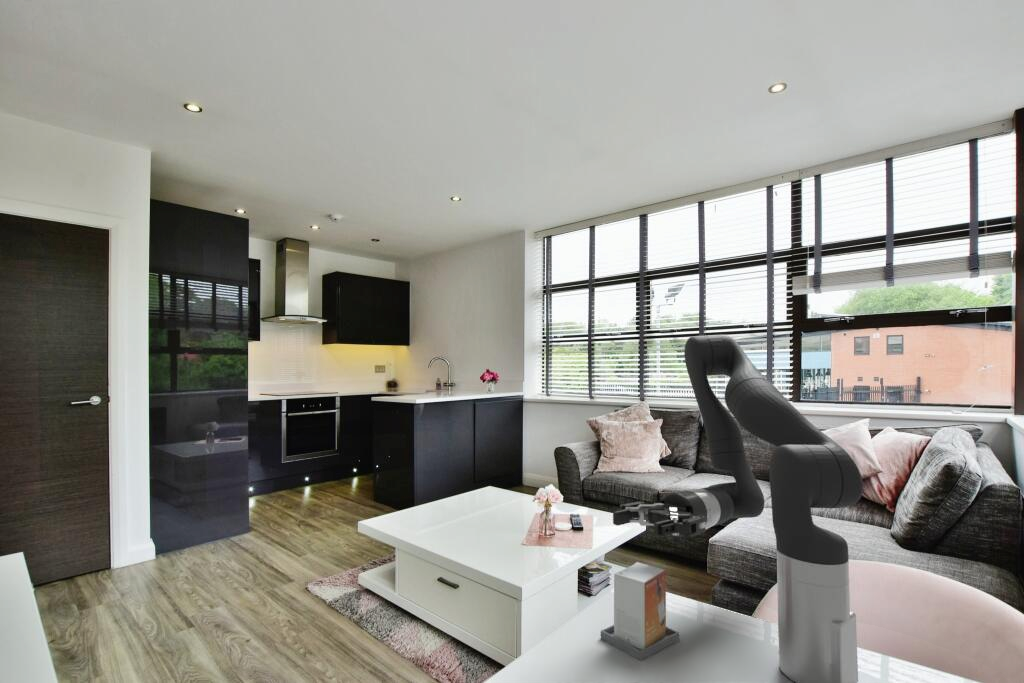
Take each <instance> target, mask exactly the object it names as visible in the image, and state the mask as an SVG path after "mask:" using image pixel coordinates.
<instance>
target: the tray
mask: <svg viewBox="0 0 1024 683" xmlns="http://www.w3.org/2000/svg"><path fill="white" fill-rule="evenodd" d="M600 639H601V640H604V641H605V642H607V643H609V644H610V645H613V646H614V647H615V648H617V649H620V650H621V651H623V652H625V653H627V654H628V655H629V656H632V657H634V658H635V659H638V660H639V661H642V660H644V659H646V658H648V657H650V656H652V655H654V654H656V653H657V652H659V651H662V650H663V649H665V648H668V647H669V646H670V645H673V644H675V643H676V642H678V641H680V632H679V631H676V630H674V629H672V628H670V627H669V626H666V634H665V635H664V636H662V637H661V638H660V639H658V640H657V641H656V642H655V643H653V644H652V645H650V646H648V647H646V648H645V649H643V650H640V649H638V648H635V647H633V646H631V645H629V644H627V643H625V642H623V641H621V640H620V639H618V638H616V637H614V624H612V625H611V626H608V627H606V628H603V629H602V630H601V629H600Z"/></svg>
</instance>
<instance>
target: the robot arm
mask: <svg viewBox="0 0 1024 683" xmlns="http://www.w3.org/2000/svg"><path fill="white" fill-rule="evenodd" d="M684 363H685V367H686V371H687V374H688V379H689V381H690V384H691V387H692V390H693V393H694V398H695V400H696V403H697V406H698V408H699V412H700V414H701V418H702V422H703V426H704V431H705V434H706V435H705V436H706V439H707V447H708V451H709V453H708V454H709V458H710V464H711V466H712V468H713V469H714V470H716V471H719V472H726V473H727V472H728V473H730V474H731V475H732V477H733V479H734V481H733V482H724V483H723V482H722V483H716V484H712V485H709V486H707V487H702V488H690V489H684V490H680V491H674V492H670V493H667V494H665V495H664V496H663V497H662V498H661V500H660V501H659V502H657V503H656V502H655V503H653V504H647V503H646V504H645V502H644V501H641V500H640V501H636V502H629V503H623V504H619V510H616V511H614V512H612V523H613V525H614V526H621V525H625V524H630V523H631V524H632V523H636V524H637V523H638V524H639V525H640V526H641V527H642V526H645V527H646V526H648V527H649V526H650V527H652V526H653V535H654V537H655V538H656V537H657V538H659V539H660V538H664V537H666V536H670V535H672V536H674V537H683V538H686V539H687V538H688V539H689V538H693V537H695V536H698V535H701V534H703V533H706V532H707V531H706V530H708V529H710V528H711V527H715V526H719V525H721V524H724V523H726V522H727V521H729V520H730V519H746V518H747V519H749V518H757V517H759V516H761V515H762V513H763V512H764V509H765V503H766V502H765V497H764V493H763V491H762V488H761V487H760V485H759V483H758V481H757V479H756V477H755V475H754V473H753V470H752V469H751V466H750V464H749V462H748V459H747V456H746V450H745V444H744V440H743V439H744V438H743V435H742V432H741V428H740V426H741V427H742V428H744V430H745V431H747V432H748V433H750V434H751V435H753V436H755V437H757V438H758V439H760V440H762V441H764V442H766V443H768V444H770V445H772V446H774V447H776V448H774V449H773V451H772V454H771V456H770V460H769V468H768V469H769V471H768V474H769V475H768V476H769V489H770V499H771V500H770V502H771V514H772V515H771V516H772V517H771V518H772V526H773V531H774V534H775V541H776V542H775V544H776V545H775V546H776V574H777V575H776V576H777V577H776V582H777V584H776V586H777V587H776V588H777V624H778V625H777V629H778V631H777V632H778V633H777V634H778V666H779V669H780V670H781V672H782V673H783V674H784V675H785V677H788V679H790V680H791V681H793V682H795V683H857V682H858V683H859V669H858V667H859V664H858V662H859V661H858V641H857V640H858V639H857V638H858V637H857V614H855V613H856V612H855V613H854V612H853V611H851V594H850V566H849V557H850V556H849V545H848V542H847V540H846V539H845V538H844V537H843V536H841V535H839V534H838V533H836V532H833V531H830V530H829V529H825V528H822V527H819V526H817V525H816V524H815V523H814V521H813V517H812V516H813V515H812V509H840V508H847V507H852V506H853V505H855V504H856V503H857V502H858V501H860V499H861V498H862V496H863V492H864V481H863V477H862V474H861V472H860V469H859V467H858V465H857V463H856V462H855V461H854V459H853V458H852V457H851V455H850V454H849V453H848V452H847V450H845V449H844V448H843V447H842V446H840V445H839V444H838V443H837V442H835V440H833V439H832V438H831V437H829V436H828V435H827V434H825V433H824V432H823V431H821V429H819V428H817V427H816V426H815V425H814V424H813V423H811V422H810V420H808V419H807V418H806V417H805V416H804V415H803V414H802V413H801V411H799V410H798V409H797V408H796V407H795V406H794V405H793V404H791V403H790V402H789V401H788V399H786V397H785V396H784V394H782V393H781V391H779V389H778V388H776V386H775V385H774V384H773V383H772V382H771V381H770V380H769V379H767V377H765V376H764V375H763V374H762V372H761V371H760V370H759V369H758V368H757V367H756V366H755V365H754V363H752V361H751V359H750V358H749V357H748V356H747V354H746V353H745V351H744V350H743V348H742V347H741V346H740V344H739V342H737V341H736V339H735V338H734V337H732V336H730V335H729V334H728V335H727V334H709V335H695V336H690V337H689V338H687V341H686V342H685V345H684ZM709 376H712V377H713V376H727V377H729V379H728V382H727V384H726V387H725V390H724V401H725V405H726V407H727V408H726V407H725V405H724V404H723V403H722V401H720V399H719V398H718V397H717V395H716V394H715V393H714V391H713V389H712V387H711V385H710V382H709V379H708V377H709ZM739 425H740V426H739ZM645 515H647V520H645Z"/></svg>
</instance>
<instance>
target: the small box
mask: <svg viewBox="0 0 1024 683" xmlns="http://www.w3.org/2000/svg"><path fill="white" fill-rule="evenodd" d="M666 577H667V572H666V569H663V568H660V567H656V566H654V565H653V566H652V565H649V564H646V563H642V562H638V561H637V562H634V563H633V564H632V565H630V566H628V567H627V568H624V569H622V570H621V571H620V570H619V571H618V572H615V573H614V574H613V580H614V581H613V588H614V589H613V603H614V604H613V625H614V637H616V638H618V639H620V640H621V641H623V642H625V643H627V644H629V645H631V646H633V647H635V648H638V649H640V650H643V649H645V648H646V647H648V646H650V645H652V644H653V643H655V642H656V641H657V640H658V639H660V638H661V637H662V636H664V635H665V634H666V627H667V622H666V621H667V598H666V597H667V594H666V593H667V591H666V590H667V589H666V588H667V586H666V584H667V581H666V580H667V578H666Z"/></svg>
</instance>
